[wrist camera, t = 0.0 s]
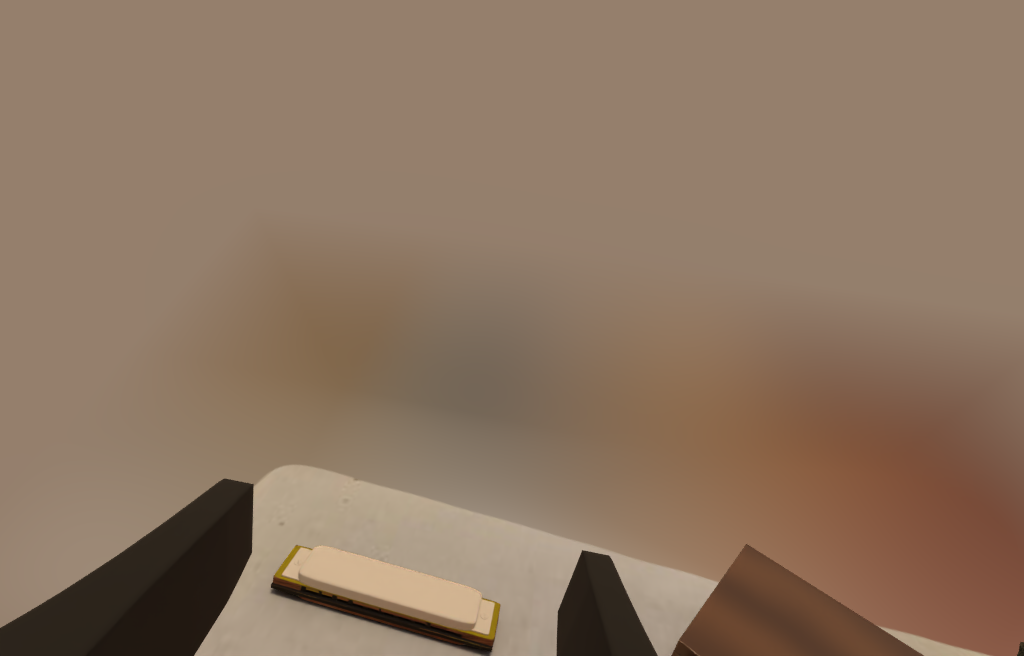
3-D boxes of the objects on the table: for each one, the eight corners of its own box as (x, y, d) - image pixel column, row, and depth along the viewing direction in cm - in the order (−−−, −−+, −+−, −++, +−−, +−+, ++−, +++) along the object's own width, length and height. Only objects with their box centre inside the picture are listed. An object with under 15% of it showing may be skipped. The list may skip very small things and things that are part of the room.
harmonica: (270, 592, 34) (272, 569, 33) (294, 557, 37) (297, 535, 36) (489, 657, 33) (496, 634, 33) (497, 616, 36) (503, 594, 35)
